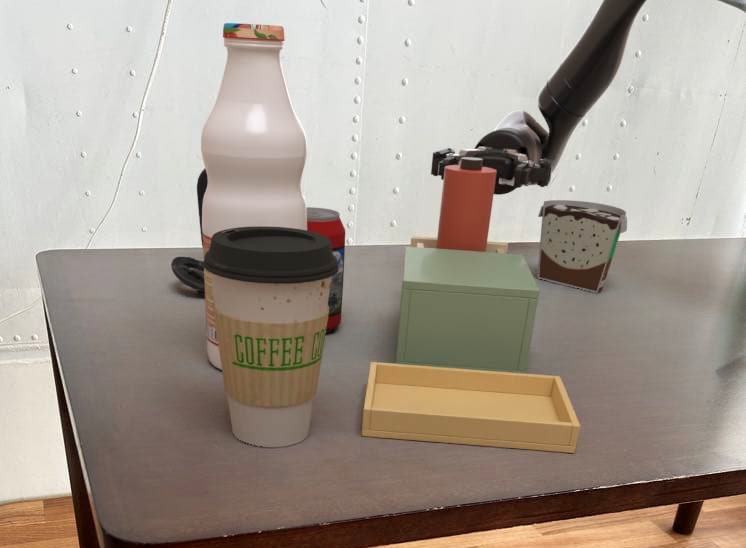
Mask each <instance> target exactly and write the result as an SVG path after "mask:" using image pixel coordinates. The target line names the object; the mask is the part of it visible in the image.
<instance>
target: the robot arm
mask: <svg viewBox="0 0 746 548" xmlns="http://www.w3.org/2000/svg"><path fill="white" fill-rule="evenodd" d="M717 1H718V2H721V3H724V4H726V5H728V6H731V7H734V8H736V9H738V10H740V11H742V12H743V13H744V14H746V0H717ZM646 2H647V0H601V2H600V4H599V5H598V7H597V9H596V11H595V13H594V14H593V16H592V18H591V19H590V20H589V22H588V24H587V26H586V27H585V29H584V30H583V32H582V34H581V35H580V37H579V38H578V40H577V41H575V43H574V45H573V47H572V48H571V49H570V50H569V52H568V53H567V55H566V56H565V57H564V59H562V61H561V62H560V64H559V65H558V66H557V67H556V68H555V70H554V72H552V74H551V75H550V76H549V78H548V79H547V81H546V82H545V83H544V84H543V86H542V87H541V89H540V90H539V92H538V94H537V96H536V104H537V107H538V110H539V113H540V114H541V115H542V117H543V119H544V121H545V123H546V124H547V125H546V126H547V127H548V131H547V130H546V129H545V128H544V127H543V126H542V125H541V124H540V122H538V121H537V119H536V118H534V117H533V116H532V115H531V114H530V113H529V112H527V111H525V110H523V109H516V110H513V111H511V112H510V113H508V114H506V115H505V116H504V117H503V118H502V119H501V120H500V121H499V123H498V124H497V126H496V127H495V128H494V130H493V131H491V132H489V133H486V135H484V136H483V137H482V138H481V139H480V140H479V141H478V142H477V143H476V145H475V146H474V148H463V149H460V150H459V152H458V153H456V151H455V149H452V147H447V148H444V149H441V150H436V151H434V152H432V159H431V167H430V169H431V170H430V175H432V176H433V177H439V176H440V179H441V181H443V180H444V171H445V167H446V166H449V165H460V161H461V158H462V157H474V158H481V159H483V165H482V167H488V168H492V169H495V170H497V173H496V181H495V188H494V195H495V196H497V195H498V196H501V195H506V194H509V193H512V192H513V191H515V190H516V189H518V188H519V189H520V188H521V187H523V186H524V187H529V186H539V187H540V188H545V187H548V186H549V184H550V182H551V179H552V174H553V172H554V171H555V170H556V167H557V166H558V164H559V162H560V160H561V158H562V156H563V153H564V151H565V148H566V146H567V144H568V142H569V140H570V138H571V137H572V134H573V133H574V132H575V130H576V128H577V127H578V125H579V124H580V122H581V121H582V120H583V118H584V117H585V116H586V115H587V114H588V112H590V110H591V109H592V108H593V106H595V104H596V103H597V102H598V101H599V100H600V98H601V97H602V96H603V95H604V94H605V92H606V91H608V88H609V87H610V86H611V84H612V83H613V81H614V79H615V77H616V75H617V73H618V71H619V70H620V67H621V64H622V61H623V57H624V53H625V50H626V47H627V42H628V38H629V36H630V32H631V29H632V27H633V24H634V22H635V20H636V17H637V16H638V14H639V12H640V10H641V9H642V7H643V6H644V5H645V3H646Z"/></svg>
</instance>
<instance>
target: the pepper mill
mask: <svg viewBox="0 0 746 548" xmlns="http://www.w3.org/2000/svg"><path fill="white" fill-rule="evenodd" d="M482 165H483V159H481V158H474V157H462V158H461V161H460V165H449V166H446V167H445V171H444V180H442V181H443V182H442V191H441V201H440V208H439V218H438V228H437V237H436V238H437V246H436V249H449V250H464V251H478V252H486V246H487V241H488V239H489V238H488V237H489V232H490V223H491V217H492V209H493V202H494V195H495V194H494V188H495V181H496V173H497V170H495V169H492V168H488V167H482Z"/></svg>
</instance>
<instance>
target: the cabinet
mask: <svg viewBox="0 0 746 548" xmlns="http://www.w3.org/2000/svg"><path fill="white" fill-rule="evenodd" d="M404 249H405V250H404V260H403V261H404V262H403V270H402V271H403V272H402V282H401V283H402V284H401V294H400V304H399V305H400V306H399V317H398V327H397V328H398V329H397V342H396V343H397V344H396V355H395V356H396V357H395V364H405V365H419V366H432V367H445V368H458V369H471V370H484V371H497V372H510V373H524V374H526V371H527V367H528V366H527V365H528V359H529V354H530V348H531V342H532V336H533V330H534V326H535V320H536V314H537V308H538V303H539V296H540V292H541V291H540V288H539V285H538V284H537V282H536V280H535V278H534V275H533V274H532V271H531V269H530V266H529V264H528V263H527V260H526V259H525V256H524V255H523V254H521V253H520V254H518V253H508V252H507V253H492V252H478V251H464V250H449V249H435V248H421V247H410V246H405V248H404Z"/></svg>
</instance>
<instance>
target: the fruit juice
mask: <svg viewBox="0 0 746 548" xmlns="http://www.w3.org/2000/svg"><path fill="white" fill-rule="evenodd" d="M222 29H223V30H222V38H223V45H224V47H225V48H226V52H227V53H226V54H227V56H226V61H225V67H224V71H223V74H222V79H221V83H220V87H219V91H218V94H217V97H216V100H215V103H214V105H213V107H212V110H211V111H210V114H209V115H208V117H207V119H206V121H205V123H204V125H203V127H202V129H201V137H200V151H201V158H202V162H203V165H204V169H206V172H207V177H208V184H207V189H206V192H205V194H204V198H203V206H202V233H203V247H202V249H203V250H202V251H203V252H202V253H203V254H202V255H203V257H204V256H205V254H206V252H207V251H209V248H210V244H211V239H212V236H213V235H214V234H215V233H217V232H219V231H222V230H226V229H231V228H239V227H256V226H266V227H285V228H295V229H301V230H307V208H306V207H307V202H306V198H305V196H304V193H303V189H302V179H303V176H304V172H305V168H306V164H307V161H308V160H307V159H308V139H307V135H306V131H305V129H304V127H303V125H302V123H301V121H300V119H299V117H298V115H297V114H296V111H295V108H294V106H293V103H292V100H291V97H290V94H289V89H288V87H287V82H286V78H285V74H284V70H283V65H282V61H281V53H282V51H284V49H285V46H284V44H285V39H286V38H285V29H284V27H283V26H282V25H275V24H274V25H273V24H272V25H271V24H258V23H257V24H256V23H239V22H238V23H237V22H225V23H223V28H222ZM204 282H205V293H204V304H205V305H204V306H205V307H204V308H205V309H204V310H205V328H206V329H205V330H206V331H205V332H206V333H205V335H206V352H207V357H208V360H209V362H210V363H211V365H212V366H214V367H215V368H217V369H218V370H221V371H222V366H221V360H220V353H219V346H218V339H217V332H216V326H215V319H214V312H213V305H212V304H213V302H214V297H213V290H212V283H211V276H210V272H209V271H207V270H206V269H205V268H204Z"/></svg>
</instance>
